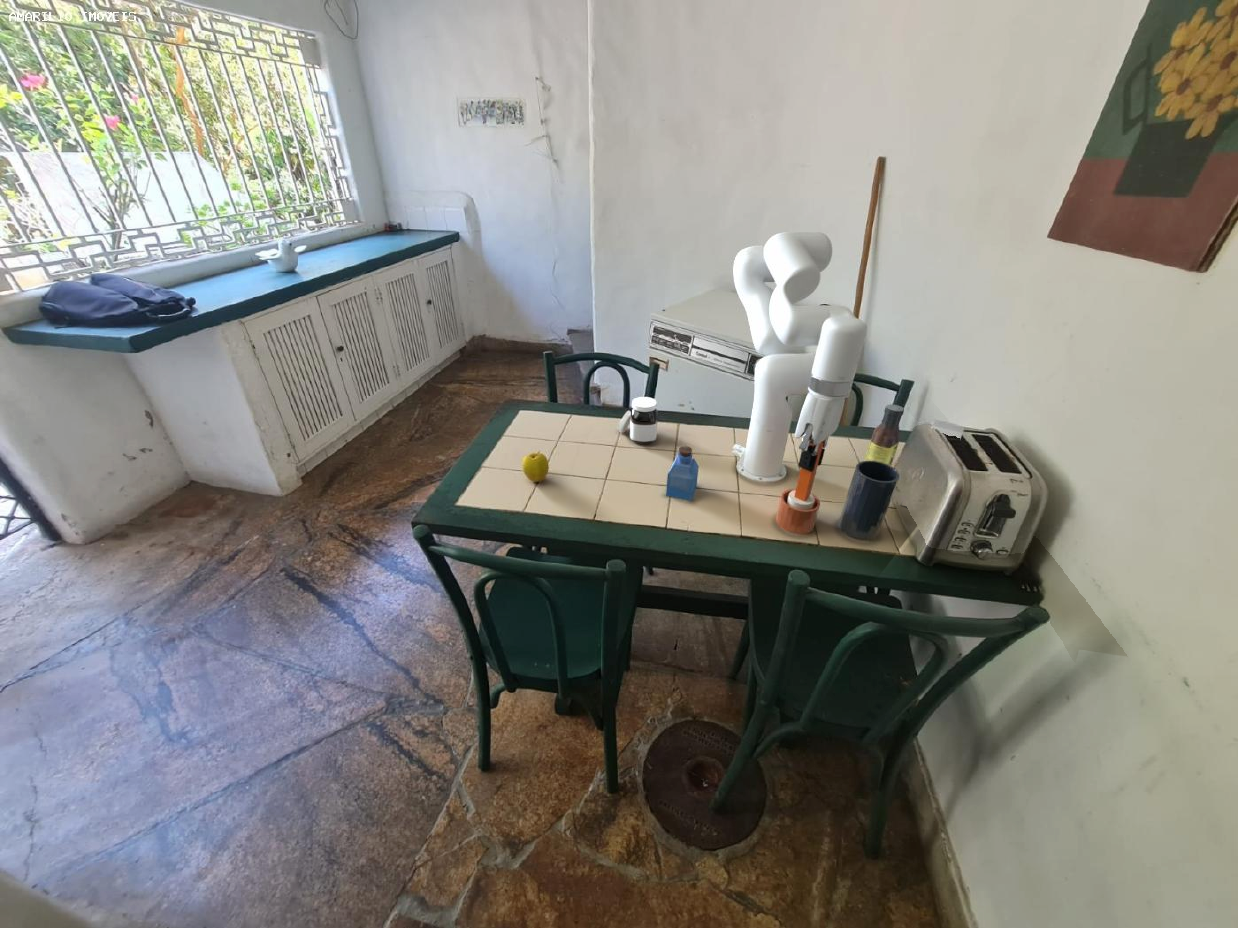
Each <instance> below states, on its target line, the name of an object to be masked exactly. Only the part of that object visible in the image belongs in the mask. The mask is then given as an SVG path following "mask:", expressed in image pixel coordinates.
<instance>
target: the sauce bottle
mask: <svg viewBox="0 0 1238 928" xmlns="http://www.w3.org/2000/svg"><path fill="white" fill-rule="evenodd" d="M883 411H884V414H883V417H882V419H881V422H880V423H879V425H877V426H876V427H875V428H874V430H873V432H872V436H871V439H870V440H869V443H868V447H867V451H866V454H865V457H864V460H863V461H877V462H882V463H884V464H887V465H889V466H891V467H892V465H893V463H894V462H893V461H894V459H895V456H896V453H897V449H898V447H899V445H900V444H899V443H900V441H901V437H900V436H901V435H900V434H901V433H900V422H901V419H902V416H904V412H905V408H904V407H902V406H901V405H898V404H892V403H890V404H886V405H885V407H884V410H883Z"/></svg>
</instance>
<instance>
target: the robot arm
mask: <svg viewBox="0 0 1238 928" xmlns="http://www.w3.org/2000/svg"><path fill="white" fill-rule="evenodd" d="M832 257H833V244H832V241H831V239H830V238H829V236H828V235H827V234H826V233H824V232H822V231H782V232H778V233H776V234H774V235H772V236H771V237H770V238H768V240H767V242H766V243H765V244H760V245H759V244H758V245H752V246H748V247H745V248H742V249H741V250H740V251H739V252H738V253H737V254H736V256H735V259H734V261H733V267H732V268H733V270H732V271H733V272H732V274H733V282H734V283H733V284H734V287H735V290H736V292H737V295H738V298H739V300H740V301H741V304H742V306H743V307H744V310H745V313H746V316H747V320H748V326H749V329H750V334H751V338H752V343H753V347H754V349H755V351H756V352H757V354H759V355H761V356H762V358H760V359H759V360H758V361H757V363H756V365H755V368H754V392H753V393H754V396H753V402H752V403H753V404H752V411H751V417H750V422H749V428H748V433H747V439H746V445H745V446H743V445H741V444H738V443H735V444H734V445H733V447H732V452H731V454H732V455H733V456H735V457H738V458H739V460H737V463H736V471H737V473H738V474H741V475H742V476H743V477H745V478H747V479H748V480H752V481H755V482H759V483H775V482H779V481H781V480H783V479H785V477H786V475H787V467H786V466H785V465H784V463H783V460H784V456H785V452H786V447H787V443H788V439H789V433H790V429H791V426H792V425H791V424H792V420H793V408H792V406H791V404H790V402H789V401H788V400H787V397H790V396H805V395H806V397H805V400H804V402H803V405H802V408H801V411H800V414H799V418H798V421H797V424H796V428H795V432H794V438H795V439H800V438H802V439H801V440H800V443H799V446H798V449H799V450H801V451H800V456H799V462H798V467H799V468H800V469H801V468H803V469H805V470H808V471H810V472H812V471H814V468H815V464H816V460H817V456H818V455H817V454H816V453H817V450H818V446H819V444H820V443H824V444H823V448H822V452H821V455H820V459H819V463H818V467H820V466H821V465H822V462H823V458H824V454H825V451H826V449H825V448H827V445H828V442H829V438H830V436H832V435H833V434H834V433H835V432H836V431H837V429H838V427H839V425H840V423H841V418H842V414H843V411H844V406H845V401H846V399H847V398H848V397H850V395H851V390H852V387H853V383H854V379H855V375H856V373H857V369H858V366H859V362H860V358H861V355H862V351H863V347H864V344H865V340H866V337H867V333H868V326H867V324H866V322H864V320H862V319H860V318H857V317H856V316H855V314H854V313H853V311H852V310H851V309H850V308H849V307H847V306H845V305H839V304H835V305H833V304H832V305H829V304H828V305H823V304H822V305H821V304H820V305H818V304H817V305H795V304H797V303H799V302H800V301H803V300H805V299H806V298H808V297H810V296H811V295H812V294H814V292H815V291H816V290H817V289H818V287H819V285H820V282H821V273H822V272H823V271H824V270H826V269H827V268H828V267H829V265H830V263H831V261H832ZM766 283H775V285H776V286H775V288H774V290H773V289H772V288H771V287H770V286H768V285H767V284H766ZM809 443H811V444H813V445H814V447H812V446H811V445H809Z"/></svg>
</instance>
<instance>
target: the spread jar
mask: <svg viewBox="0 0 1238 928" xmlns="http://www.w3.org/2000/svg"><path fill="white" fill-rule="evenodd" d="M657 406H658V402H657V400H656V399H655V398H652V397H649V396H638V397H635V398H633V399H632V402H631V409H630V410H627V411H626V412H625V413H624V415H623V416H622V417H621V419H620V421H619V423H618V425H617V429H616V431H617V432H619V433H620V434H623V433H624V432H625V431H626V430H627V429H628V427H629V438H630V441H631V442H632V443H635V444H637V445H644V446H645V445H650V444H653V443H655V442H656V440H657V436H658V435H657V433H658V419H659V418H658V417H659V415H658V408H657Z"/></svg>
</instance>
